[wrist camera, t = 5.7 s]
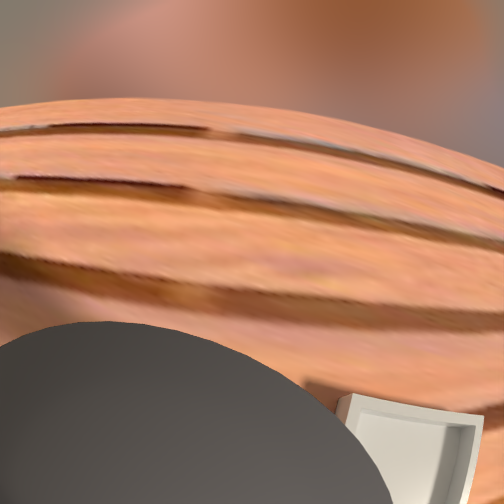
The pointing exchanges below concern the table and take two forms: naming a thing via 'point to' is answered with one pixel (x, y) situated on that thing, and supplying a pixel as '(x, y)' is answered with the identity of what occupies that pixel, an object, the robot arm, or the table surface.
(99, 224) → the table surface
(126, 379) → the grey upright post
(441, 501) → the tray
